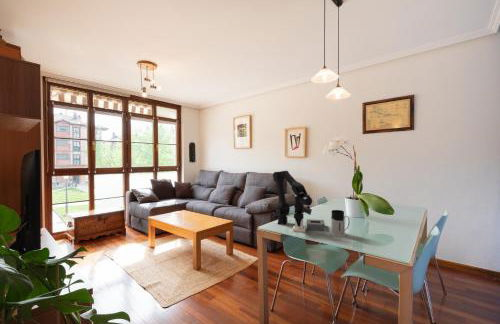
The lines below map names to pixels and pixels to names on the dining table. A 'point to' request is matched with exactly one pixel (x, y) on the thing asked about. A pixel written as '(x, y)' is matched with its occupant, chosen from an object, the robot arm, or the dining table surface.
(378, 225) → the dining table surface
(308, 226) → the port
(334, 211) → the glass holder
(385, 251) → the dining table surface
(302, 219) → the plug
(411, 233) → the dining table surface
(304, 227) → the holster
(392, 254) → the dining table surface
